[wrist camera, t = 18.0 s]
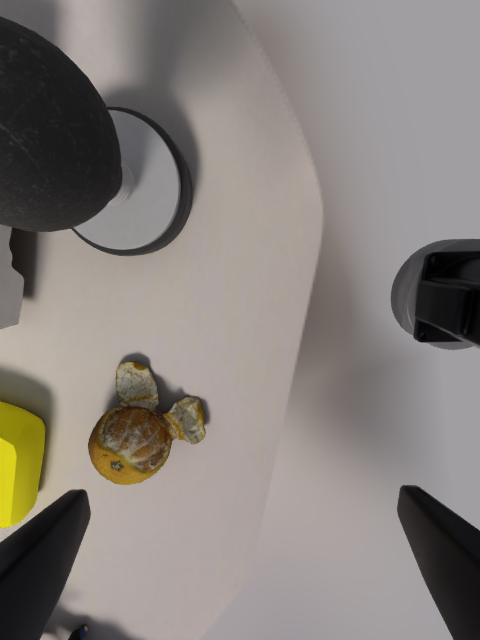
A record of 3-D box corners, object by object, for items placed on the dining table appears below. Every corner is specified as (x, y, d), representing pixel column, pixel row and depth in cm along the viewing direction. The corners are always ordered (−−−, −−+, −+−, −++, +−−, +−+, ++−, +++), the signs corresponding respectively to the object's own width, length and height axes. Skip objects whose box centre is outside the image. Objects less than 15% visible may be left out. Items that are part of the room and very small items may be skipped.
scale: (188, 116, 17) (180, 98, 15) (196, 253, 19) (190, 254, 17) (55, 120, 17) (29, 102, 15) (78, 256, 19) (57, 257, 17)
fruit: (218, 413, 22) (214, 446, 19) (159, 482, 24) (145, 523, 20) (128, 352, 21) (105, 374, 17) (73, 429, 23) (41, 463, 19)
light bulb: (86, 107, 15) (-196, -140, 5) (183, 159, 16) (89, 20, 6) (55, 209, 16) (-216, 158, 7) (146, 253, 17) (19, 265, 7)
